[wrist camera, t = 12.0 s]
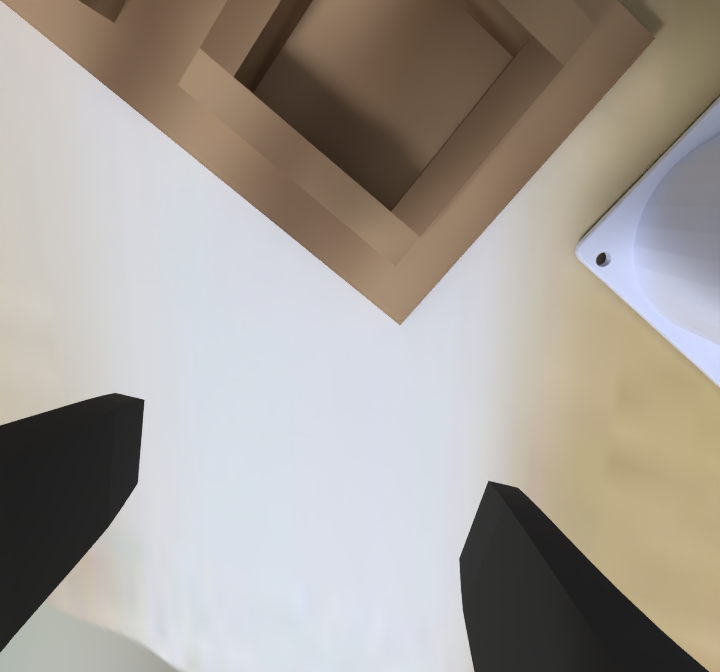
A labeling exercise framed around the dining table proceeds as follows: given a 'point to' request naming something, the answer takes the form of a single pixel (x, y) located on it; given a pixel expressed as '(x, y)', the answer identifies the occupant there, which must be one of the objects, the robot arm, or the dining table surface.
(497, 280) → the dining table surface
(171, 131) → the walnut rack
